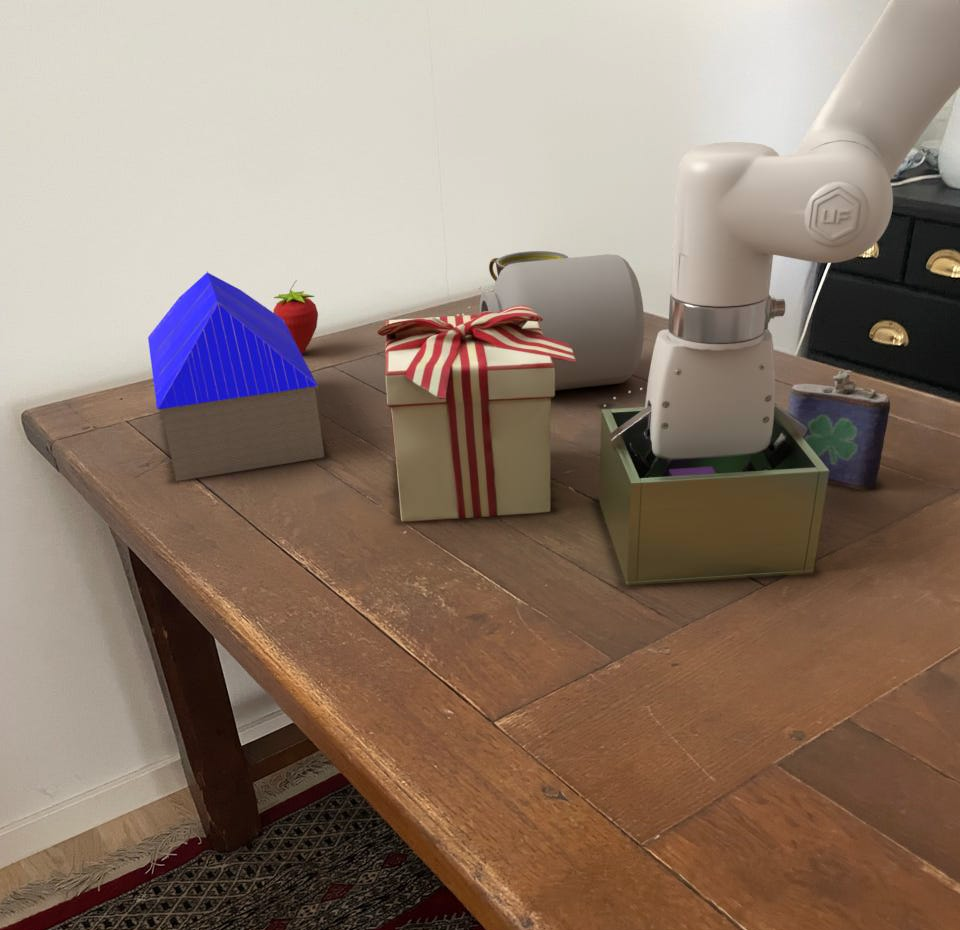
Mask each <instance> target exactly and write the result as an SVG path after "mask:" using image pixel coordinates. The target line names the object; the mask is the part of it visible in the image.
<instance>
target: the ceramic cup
mask: <svg viewBox="0 0 960 930" xmlns="http://www.w3.org/2000/svg"><path fill="white" fill-rule="evenodd" d="M563 258H571V257H570V256H569V255H567V254H564V253H561V252H555V251H547V250H529V251H519V252H512V253H508V254H505V255H502V256H500V257H494V258H492V259H491V260H490V261H489V265H488V271H489V274H490V276H491V278H492V279H493V281H494V282H496V280H497V278H498V276H499V274H500V272H501V270H503V269H504V268H505V267H506V266H507V265H509V264H513V263H519V262H530V261H541V260H552V259H563ZM494 265H495V267H496V273H497V275H496V273H495V271H494Z"/></svg>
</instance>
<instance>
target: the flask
mask: <svg viewBox="0 0 960 930" xmlns="http://www.w3.org/2000/svg"><path fill="white" fill-rule="evenodd" d="M851 374H853V371H852V370H843V371H841V370H839V371H838V374H837V375H833V377H832V378H833V380H834V384H835V385H834V386H831V385H830V386H829V385H822V384H814V383H797V384H795V385H793V386H791V388H790V391H789V403H788V411H787V412H789V413H790V414H792V415H793V416H794V417H796V418H797V419H799V420H800V421H801V422H802V423H803V424H804V425H805V426H806V428H807V432H806V434H805V435H804V436H803V438H804V440H805V441H806V442H807V443H808V445H809V446H810V447H811V448H812V450H813V451H814V452H815V453H816V455H817V456H818V457H819V458H820V460H821V461H822V462H823V463H824V465H825V466H826V467H827V468H828V470H829V476H828V482H827V483H832V484H837V485H841V486H845V487H849V488H853V489H856V490H864V491H866V490H867V491H868V490H872V489H874V488H875V487H876V484H877V481H878V476H879V472H880V468H881V467H880V466H881V461H882V454H883V450H884V443H885V436H886V432H887V428H888V421H889V414H890V410H891V402H890V398H889V397H888V395H886V394H884V393H878V392H877V391H876V390H875V389H872V388H867V390H865V389H864V388H862V387H858V385H857V384H856V383H855V381H851V380H850V379H849V378H850V375H851Z"/></svg>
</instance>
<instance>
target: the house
mask: <svg viewBox="0 0 960 930" xmlns="http://www.w3.org/2000/svg"><path fill="white" fill-rule="evenodd" d="M147 341H148V348H149V357H150V363H151V372H152V380H153V388H154V395H155V404H156V411H157V413H159V412H160V415H161V418H162V423H163V428H164V431H165V436H166V440H167V444H168V450H169V453H170V458H171V463H172V466H173V471H174V475H175V480H176V482H182V481H187V480H193V479H200V478H206V477H211V476H216V475H217V476H218V475H223V474H230V473H236V472H243V471H247V470H253V469H254V470H255V469H259V468H266V467H267V468H268V467H272V466H279V465H284V464H285V465H286V464H292V463H297V462H302V461H309V460H315V459H316V460H317V459H321V458H325V451H324V444H323V443H324V442H323V435H322V429H321V421H320V415H319V407H318V406H319V405H318V400H317V393H316V389H317V390H319V385H318V383H317V381H316V380H315V378H314V376H313V373H312V372H311V370H310V368H309V366H308V364H307V362H306V360H305V359H304V357H303V355H301V353H300V351H299V349H298V347H297V345H296V343H295V341H294V339H293V337H292V335H291V333H290V332H289V330H288V328H287V326H286V324H285V322H284V320H283V319H282V318H280V317H279V316H277V315H276V314H275V313H274V311H272V310H270V309H269V308H267V307H266V306H265V305H263V304H261V302H259V301H257V300H256V299H255V298H253V297H251V296H250V295H249V294H247V293H246V292H244V291H243V290H242V289H240V288H238V287H236V286H234V285H232V284H230V283H229V282H227V281H224V280H223V279H221V278H219V277H217V276H215V275H213V274H211V273H210V272H208V271H206V273H205V274H203V275H202V276H201V277H200V278H199V279H198V280H197V281H196V282H194V283H193V284H192V285H191V286H190V287H189V288H188V289H187V290H186V291H184V292H183V293H182V294H181V295H180V296H179V297H178V298H177V299H176V301H175V302H174V303H173V304H172V306H171V307H170V308H169V310H168V311H167V312H166V314H165V315H164V316H163V317H162V318H161V320H160V321H159V322H158V324H157V325H156V326H155V327H154V329H153V330H152V331H151V332H150V334H149V335H148V336H147Z"/></svg>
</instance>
